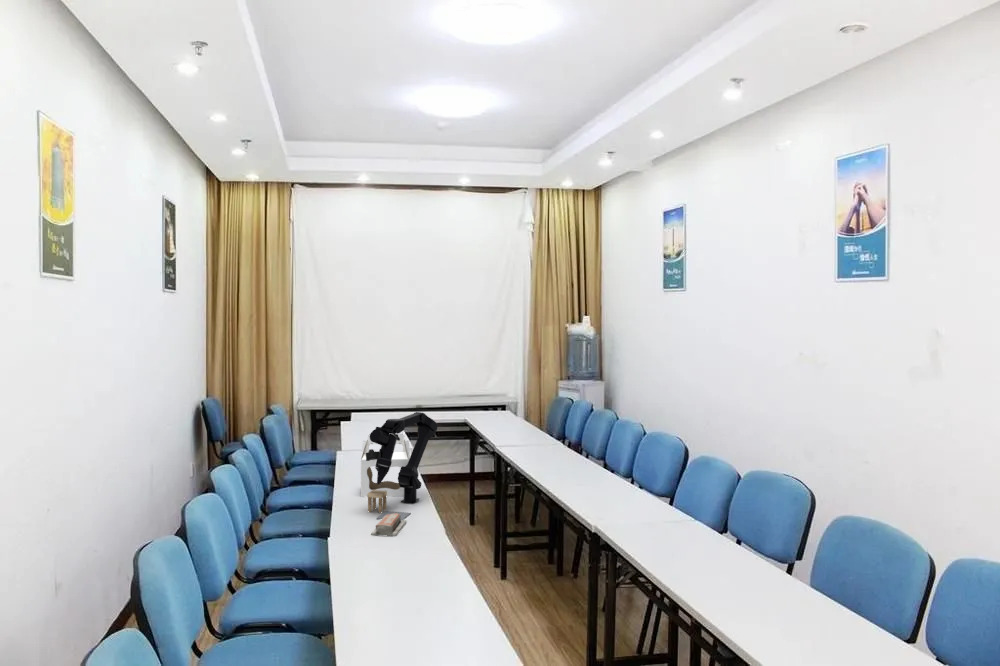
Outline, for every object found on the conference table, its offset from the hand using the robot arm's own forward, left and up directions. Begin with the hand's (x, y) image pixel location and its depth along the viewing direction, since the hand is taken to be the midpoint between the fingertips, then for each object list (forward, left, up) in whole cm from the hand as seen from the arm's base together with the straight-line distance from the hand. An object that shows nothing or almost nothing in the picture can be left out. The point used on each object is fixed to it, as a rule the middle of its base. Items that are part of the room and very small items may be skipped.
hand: (378, 483), depth 312 cm
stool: (-3, -1, -12) cm, 13 cm away
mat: (+4, +9, -12) cm, 16 cm away
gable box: (-32, -9, -13) cm, 35 cm away
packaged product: (+20, +13, -13) cm, 27 cm away
